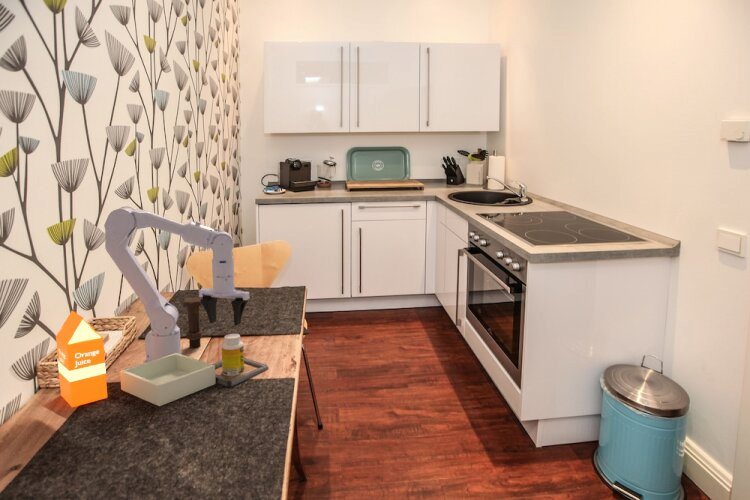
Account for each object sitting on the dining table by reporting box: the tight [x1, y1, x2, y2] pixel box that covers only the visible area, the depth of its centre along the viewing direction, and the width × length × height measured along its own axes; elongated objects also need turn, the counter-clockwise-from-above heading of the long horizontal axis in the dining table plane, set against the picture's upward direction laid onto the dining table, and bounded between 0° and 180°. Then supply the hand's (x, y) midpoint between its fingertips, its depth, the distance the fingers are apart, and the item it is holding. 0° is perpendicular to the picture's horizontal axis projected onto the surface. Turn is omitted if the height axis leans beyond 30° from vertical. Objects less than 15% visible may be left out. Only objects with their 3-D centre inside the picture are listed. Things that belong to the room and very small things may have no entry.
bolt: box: [182, 297, 204, 349], centre depth 157 cm, size 6×5×15 cm
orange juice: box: [55, 310, 108, 408], centre depth 123 cm, size 8×9×20 cm
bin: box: [119, 353, 217, 407], centre depth 130 cm, size 16×16×5 cm
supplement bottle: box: [220, 333, 245, 377], centre depth 139 cm, size 6×6×10 cm
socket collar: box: [211, 357, 270, 387], centre depth 139 cm, size 13×13×2 cm
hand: (225, 323), depth 148 cm, fingers open, 7 cm apart
